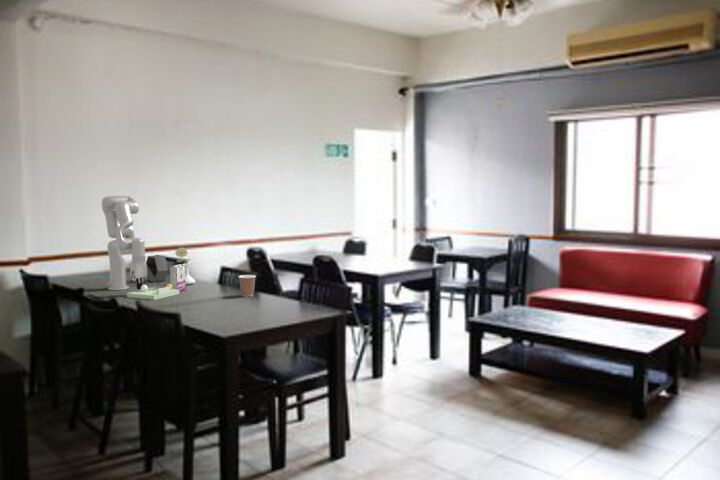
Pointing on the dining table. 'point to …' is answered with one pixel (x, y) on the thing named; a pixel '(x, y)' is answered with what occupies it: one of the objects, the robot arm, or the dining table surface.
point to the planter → (156, 268)
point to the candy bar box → (178, 277)
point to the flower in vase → (182, 253)
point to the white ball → (144, 287)
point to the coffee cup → (247, 285)
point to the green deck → (153, 293)
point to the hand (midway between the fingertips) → (139, 289)
